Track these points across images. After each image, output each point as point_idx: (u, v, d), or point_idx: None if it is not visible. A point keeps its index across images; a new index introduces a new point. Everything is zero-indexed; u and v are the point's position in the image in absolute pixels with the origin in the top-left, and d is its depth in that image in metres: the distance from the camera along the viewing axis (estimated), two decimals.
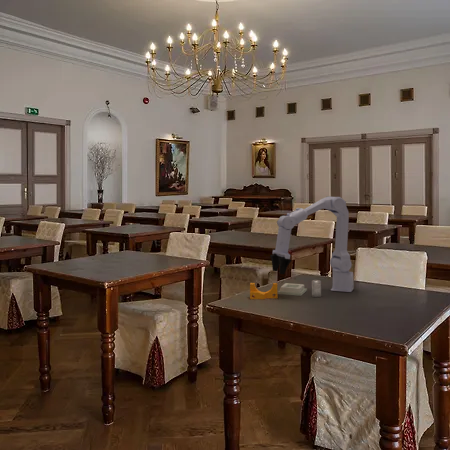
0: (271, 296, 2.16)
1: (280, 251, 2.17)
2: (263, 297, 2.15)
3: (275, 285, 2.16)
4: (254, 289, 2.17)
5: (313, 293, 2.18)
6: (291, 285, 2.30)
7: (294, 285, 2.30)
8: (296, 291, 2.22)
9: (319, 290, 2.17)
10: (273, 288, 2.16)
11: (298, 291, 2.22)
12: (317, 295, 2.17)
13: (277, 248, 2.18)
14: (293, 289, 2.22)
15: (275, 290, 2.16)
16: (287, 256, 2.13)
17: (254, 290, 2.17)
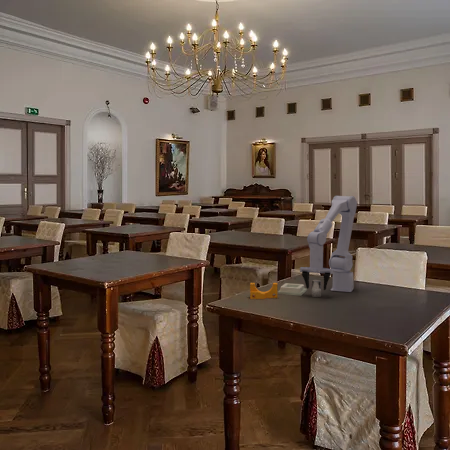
0: (271, 296, 2.17)
1: (320, 268, 2.16)
2: (263, 297, 2.16)
3: (275, 285, 2.16)
4: (254, 289, 2.17)
5: (313, 293, 2.18)
6: (291, 285, 2.30)
7: (294, 285, 2.30)
8: (296, 291, 2.22)
9: (319, 290, 2.17)
10: (273, 288, 2.17)
11: (298, 291, 2.22)
12: (317, 295, 2.17)
13: (317, 266, 2.15)
14: (293, 289, 2.22)
15: (275, 290, 2.17)
16: (332, 271, 2.15)
17: (254, 290, 2.17)
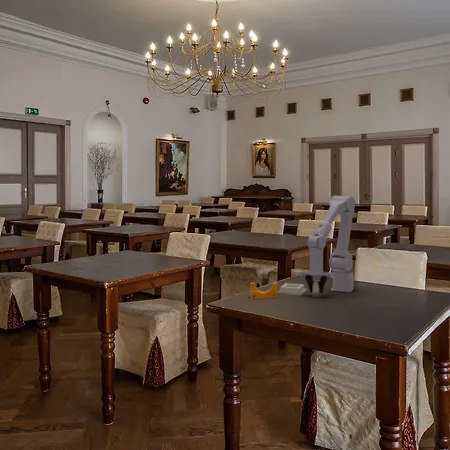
0: (271, 295, 2.18)
1: (320, 272, 2.16)
2: (263, 296, 2.16)
3: (275, 284, 2.17)
4: (254, 289, 2.18)
5: (313, 293, 2.18)
6: (291, 285, 2.30)
7: (294, 285, 2.30)
8: (296, 291, 2.22)
9: (319, 290, 2.17)
10: (273, 287, 2.17)
11: (298, 291, 2.22)
12: (317, 295, 2.17)
13: (317, 269, 2.15)
14: (293, 289, 2.22)
15: (275, 289, 2.17)
16: (332, 275, 2.15)
17: (254, 290, 2.18)
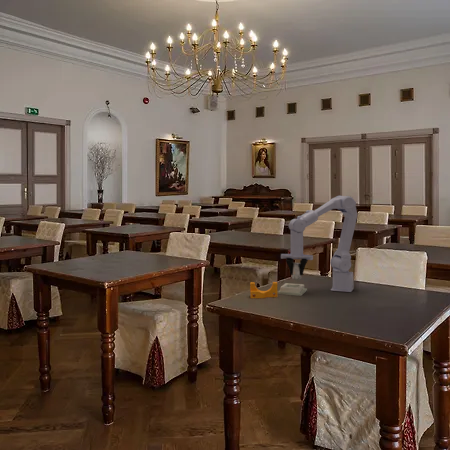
0: (271, 295, 2.19)
1: (301, 254, 2.22)
2: (263, 296, 2.17)
3: (275, 284, 2.18)
4: (254, 288, 2.18)
5: (294, 275, 2.24)
6: (291, 285, 2.30)
7: (294, 285, 2.30)
8: (296, 291, 2.22)
9: (299, 272, 2.23)
10: (273, 287, 2.18)
11: (298, 291, 2.22)
12: (297, 277, 2.23)
13: (297, 252, 2.21)
14: (293, 289, 2.22)
15: (275, 289, 2.18)
16: (312, 257, 2.21)
17: (254, 289, 2.18)
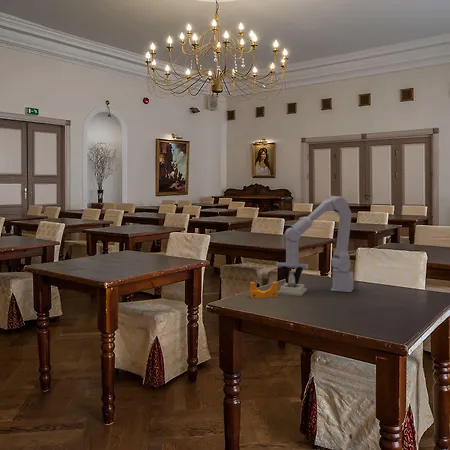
0: (271, 295, 2.19)
1: (296, 263, 2.24)
2: (263, 296, 2.17)
3: (275, 284, 2.18)
4: (254, 288, 2.19)
5: (289, 284, 2.26)
6: None
7: None
8: (296, 291, 2.22)
9: (295, 281, 2.25)
10: (273, 287, 2.19)
11: (298, 291, 2.22)
12: (293, 286, 2.25)
13: (292, 261, 2.23)
14: (293, 289, 2.22)
15: (275, 289, 2.19)
16: (307, 266, 2.23)
17: (254, 289, 2.19)
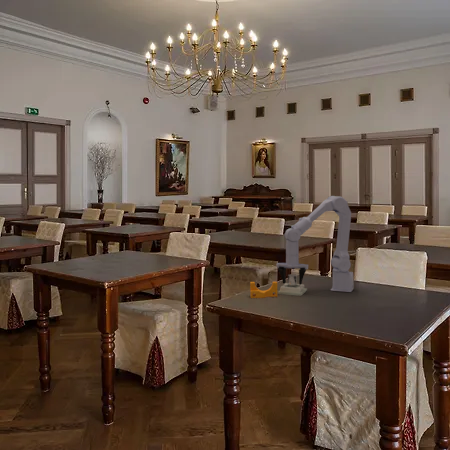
0: (271, 294, 2.20)
1: (296, 263, 2.24)
2: (264, 296, 2.18)
3: (275, 283, 2.19)
4: (254, 288, 2.19)
5: None
6: None
7: None
8: (296, 291, 2.22)
9: (295, 284, 2.25)
10: (273, 286, 2.19)
11: (298, 291, 2.22)
12: None
13: (292, 261, 2.23)
14: (293, 289, 2.22)
15: (275, 288, 2.19)
16: (307, 266, 2.23)
17: (254, 289, 2.19)
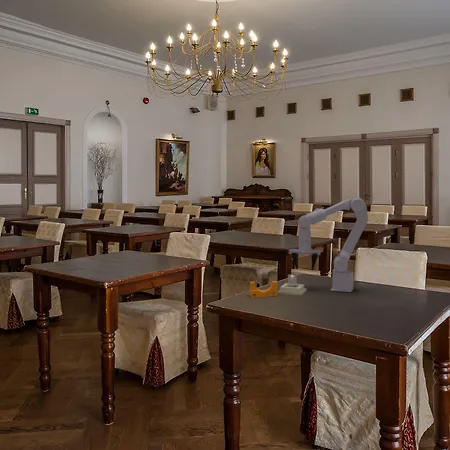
0: (271, 294, 2.20)
1: (308, 249, 2.30)
2: (264, 295, 2.18)
3: (275, 283, 2.20)
4: (254, 287, 2.20)
5: None
6: None
7: None
8: (296, 291, 2.22)
9: (295, 284, 2.25)
10: (273, 286, 2.20)
11: (298, 291, 2.22)
12: None
13: (305, 247, 2.30)
14: (293, 289, 2.22)
15: (275, 288, 2.20)
16: None
17: (254, 288, 2.20)
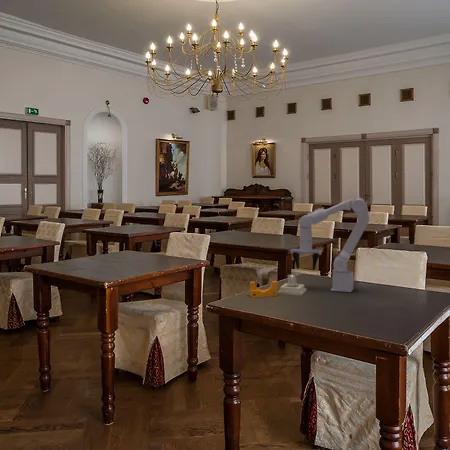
0: (271, 294, 2.21)
1: (310, 249, 2.31)
2: (264, 295, 2.19)
3: (275, 283, 2.20)
4: (254, 287, 2.20)
5: None
6: None
7: None
8: (296, 291, 2.22)
9: (295, 284, 2.25)
10: (273, 286, 2.20)
11: (298, 291, 2.22)
12: None
13: (306, 247, 2.30)
14: (293, 289, 2.22)
15: (275, 288, 2.21)
16: (321, 252, 2.30)
17: (254, 288, 2.20)
